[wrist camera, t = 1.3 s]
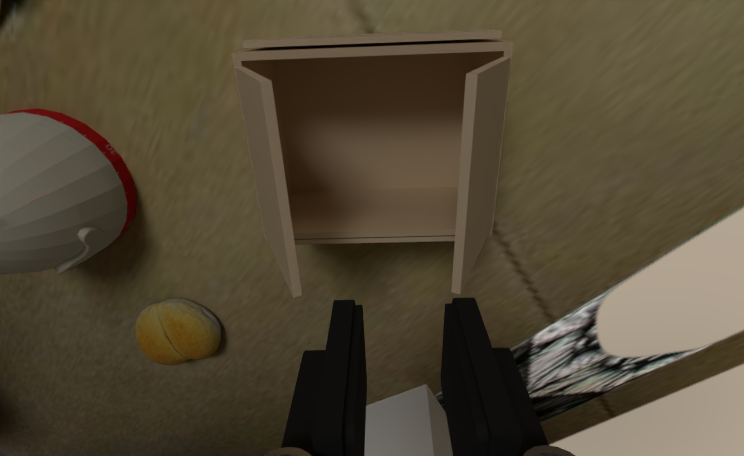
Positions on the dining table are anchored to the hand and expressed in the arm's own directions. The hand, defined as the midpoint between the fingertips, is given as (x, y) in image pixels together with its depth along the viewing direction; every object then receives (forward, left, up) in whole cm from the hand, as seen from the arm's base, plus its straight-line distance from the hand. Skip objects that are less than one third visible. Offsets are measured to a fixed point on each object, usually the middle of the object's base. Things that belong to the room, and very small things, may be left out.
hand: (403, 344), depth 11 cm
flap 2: (-5, -5, -18) cm, 20 cm away
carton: (+1, +1, -27) cm, 27 cm away
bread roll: (+4, +33, -28) cm, 43 cm away
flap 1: (+7, +6, -18) cm, 20 cm away
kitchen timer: (+21, +24, -27) cm, 42 cm away
